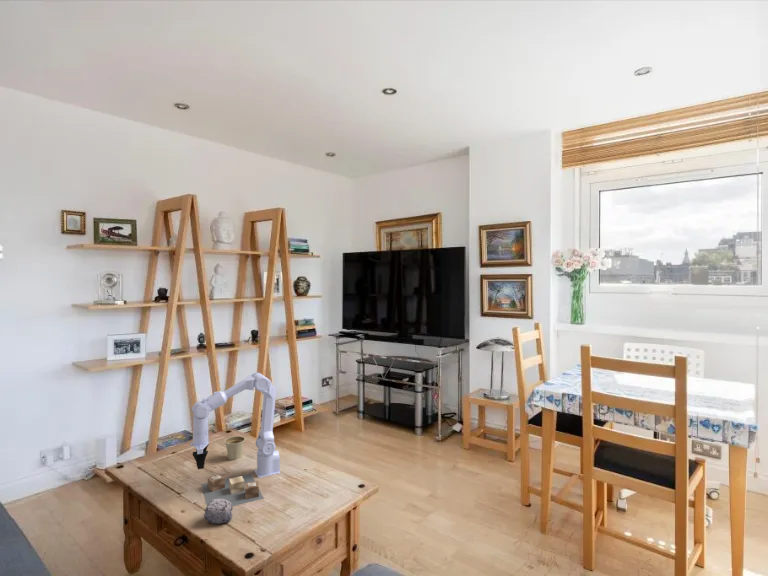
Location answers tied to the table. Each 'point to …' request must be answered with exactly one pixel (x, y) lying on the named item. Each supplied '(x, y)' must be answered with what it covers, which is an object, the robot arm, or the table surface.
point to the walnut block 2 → (251, 490)
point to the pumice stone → (218, 511)
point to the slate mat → (226, 494)
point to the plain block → (236, 484)
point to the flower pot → (234, 447)
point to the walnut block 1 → (216, 482)
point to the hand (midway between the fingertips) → (201, 464)
